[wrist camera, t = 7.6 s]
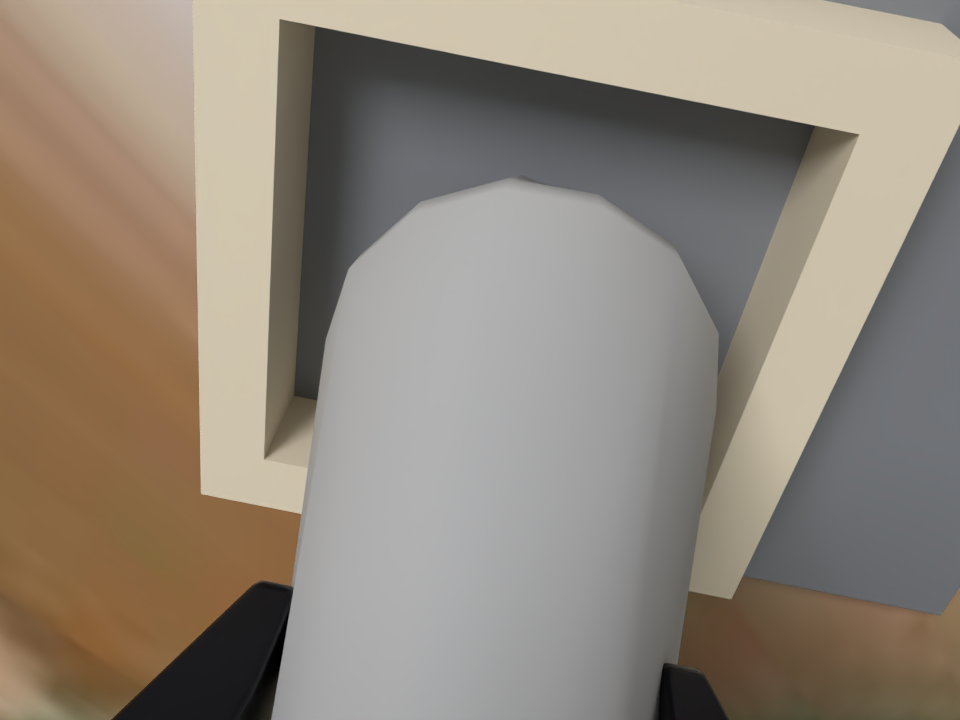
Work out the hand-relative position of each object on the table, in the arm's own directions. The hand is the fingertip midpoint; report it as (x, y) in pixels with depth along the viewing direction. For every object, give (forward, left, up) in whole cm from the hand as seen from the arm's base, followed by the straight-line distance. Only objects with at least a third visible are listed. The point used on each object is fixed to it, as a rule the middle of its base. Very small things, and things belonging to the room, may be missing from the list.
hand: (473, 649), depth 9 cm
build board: (-2, 0, -9) cm, 10 cm away
